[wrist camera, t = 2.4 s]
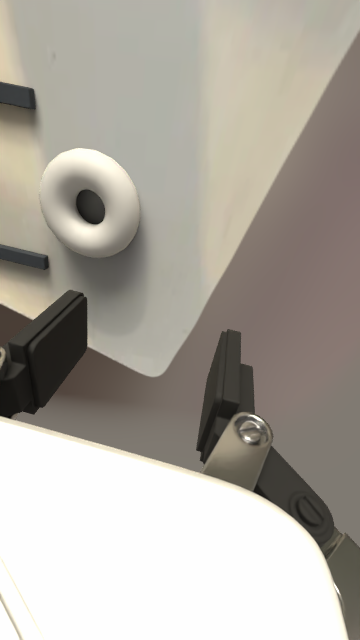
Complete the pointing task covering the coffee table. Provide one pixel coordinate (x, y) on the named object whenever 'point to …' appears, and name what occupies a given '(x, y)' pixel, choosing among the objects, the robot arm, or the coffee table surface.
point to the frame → (26, 99)
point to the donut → (107, 182)
